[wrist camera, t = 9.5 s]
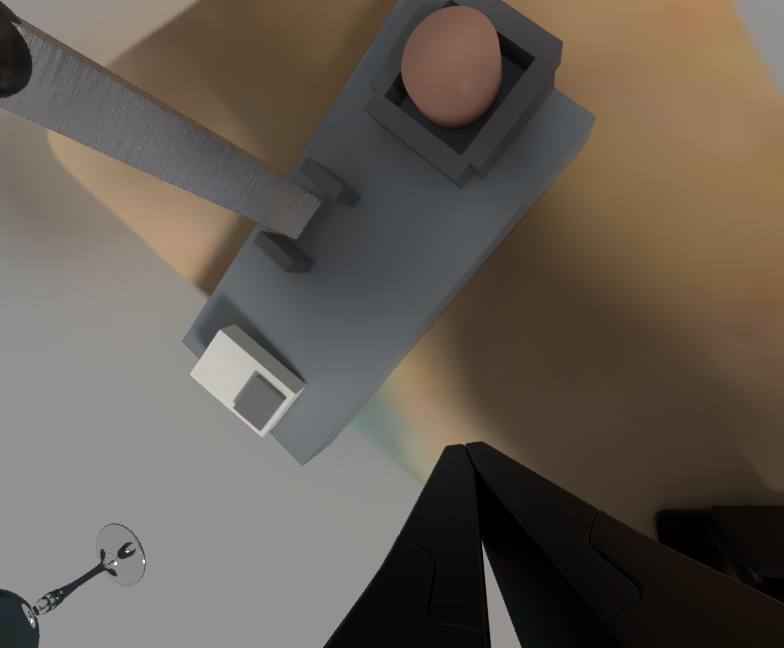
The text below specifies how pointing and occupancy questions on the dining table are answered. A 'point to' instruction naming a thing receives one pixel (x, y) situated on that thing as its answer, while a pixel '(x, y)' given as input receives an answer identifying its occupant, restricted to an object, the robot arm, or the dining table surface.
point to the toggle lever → (140, 128)
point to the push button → (453, 66)
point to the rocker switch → (247, 379)
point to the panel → (393, 220)
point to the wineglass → (71, 586)
